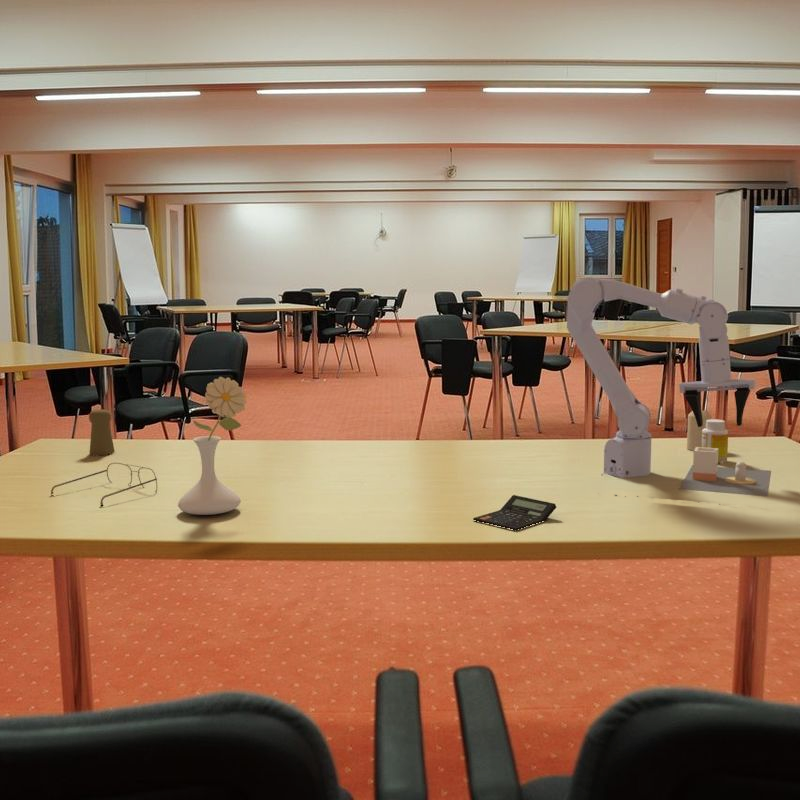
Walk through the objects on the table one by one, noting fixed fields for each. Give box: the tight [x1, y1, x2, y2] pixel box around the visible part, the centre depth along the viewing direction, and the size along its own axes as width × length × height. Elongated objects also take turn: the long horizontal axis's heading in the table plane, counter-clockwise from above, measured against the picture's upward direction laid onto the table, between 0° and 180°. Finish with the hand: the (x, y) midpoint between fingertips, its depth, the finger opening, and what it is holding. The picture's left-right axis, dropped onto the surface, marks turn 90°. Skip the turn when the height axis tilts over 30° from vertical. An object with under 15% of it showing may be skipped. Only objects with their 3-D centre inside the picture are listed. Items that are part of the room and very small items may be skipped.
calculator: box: [472, 494, 557, 530], centre depth 154 cm, size 9×12×3 cm
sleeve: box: [692, 447, 719, 481], centre depth 180 cm, size 4×4×6 cm
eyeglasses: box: [50, 462, 158, 506], centre depth 177 cm, size 16×15×5 cm
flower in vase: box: [177, 376, 247, 516], centre depth 160 cm, size 13×11×25 cm
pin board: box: [678, 461, 772, 497], centre depth 179 cm, size 24×16×5 cm, turn 156°
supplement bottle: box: [702, 418, 729, 465], centre depth 197 cm, size 6×6×10 cm
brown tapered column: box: [88, 408, 116, 456], centre depth 218 cm, size 6×6×11 cm
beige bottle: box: [686, 409, 713, 452], centre depth 215 cm, size 6×6×10 cm
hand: (719, 425), depth 180 cm, fingers open, 7 cm apart
